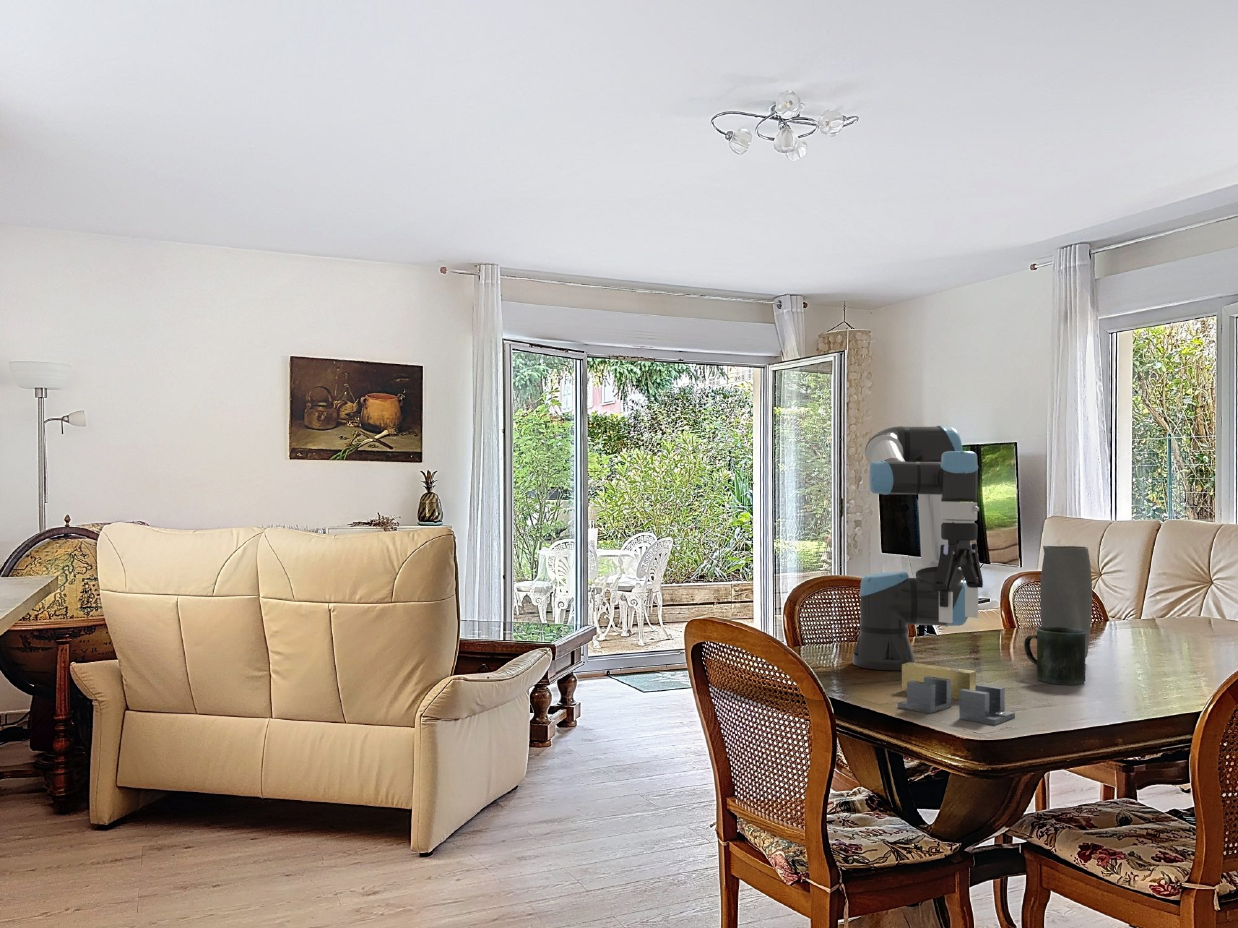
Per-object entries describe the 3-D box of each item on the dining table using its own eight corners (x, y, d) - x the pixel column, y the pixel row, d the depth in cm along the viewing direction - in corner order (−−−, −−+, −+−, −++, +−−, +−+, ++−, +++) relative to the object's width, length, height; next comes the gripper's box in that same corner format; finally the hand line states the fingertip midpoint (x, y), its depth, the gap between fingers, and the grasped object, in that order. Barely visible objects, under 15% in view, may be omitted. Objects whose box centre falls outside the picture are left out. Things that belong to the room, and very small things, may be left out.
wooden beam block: (901, 691, 215) (901, 664, 215) (908, 689, 217) (908, 662, 217) (969, 701, 205) (969, 673, 205) (975, 699, 208) (975, 670, 208)
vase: (1089, 668, 245) (1089, 548, 246) (1036, 663, 251) (1036, 546, 252) (1095, 661, 255) (1095, 546, 256) (1044, 657, 262) (1044, 544, 263)
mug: (1071, 688, 220) (1071, 634, 220) (1012, 677, 232) (1012, 626, 232) (1096, 682, 226) (1096, 631, 227) (1037, 673, 238) (1037, 623, 238)
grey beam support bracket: (959, 718, 188) (959, 690, 189) (979, 711, 195) (979, 683, 195) (995, 725, 184) (995, 695, 184) (1014, 717, 190) (1014, 689, 190)
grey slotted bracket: (897, 707, 198) (898, 680, 198) (919, 701, 204) (919, 674, 204) (930, 713, 193) (930, 685, 193) (951, 706, 199) (951, 679, 199)
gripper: (951, 523, 201) (951, 626, 201) (998, 521, 220) (998, 616, 219) (917, 522, 206) (917, 622, 206) (965, 520, 225) (965, 613, 224)
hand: (958, 619), depth 212 cm, fingers open, 13 cm apart
